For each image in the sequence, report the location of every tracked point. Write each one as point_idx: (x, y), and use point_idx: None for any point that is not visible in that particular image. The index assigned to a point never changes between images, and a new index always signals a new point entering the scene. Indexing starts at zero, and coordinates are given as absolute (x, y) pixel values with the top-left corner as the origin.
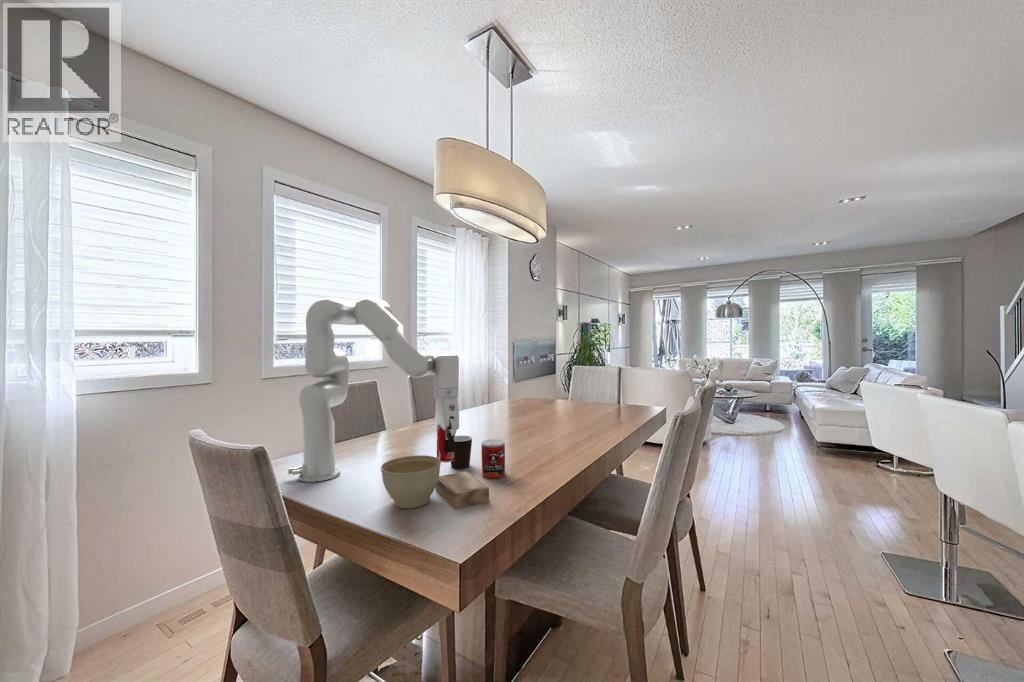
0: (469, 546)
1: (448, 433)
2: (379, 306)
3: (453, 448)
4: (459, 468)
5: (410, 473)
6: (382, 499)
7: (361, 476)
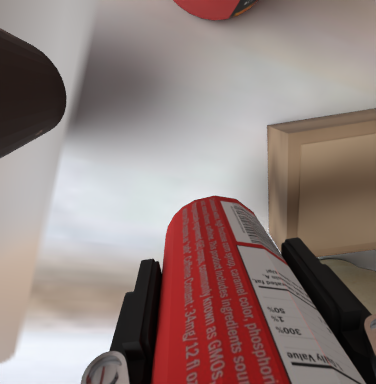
0: None
1: None
2: None
3: (308, 253)
4: (64, 106)
5: None
6: None
7: (71, 371)
